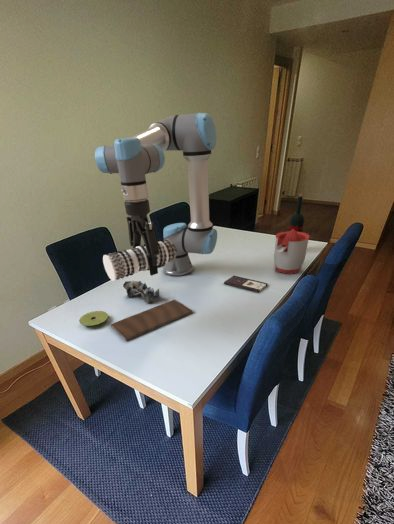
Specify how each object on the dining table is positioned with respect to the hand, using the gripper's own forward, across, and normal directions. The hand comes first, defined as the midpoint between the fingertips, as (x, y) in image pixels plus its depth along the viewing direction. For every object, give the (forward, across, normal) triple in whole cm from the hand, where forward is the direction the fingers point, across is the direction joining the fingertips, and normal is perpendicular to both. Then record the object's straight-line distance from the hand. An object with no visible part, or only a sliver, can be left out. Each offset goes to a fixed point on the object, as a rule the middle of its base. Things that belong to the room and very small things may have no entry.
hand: (147, 270), depth 103 cm
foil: (+21, -21, +6) cm, 30 cm away
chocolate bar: (+21, +1, +49) cm, 53 cm away
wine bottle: (+21, -11, +100) cm, 103 cm away
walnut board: (+21, -2, 0) cm, 21 cm away
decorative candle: (-5, 0, -14) cm, 15 cm away
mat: (+21, -16, -19) cm, 33 cm away
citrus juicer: (+21, +4, +76) cm, 79 cm away
